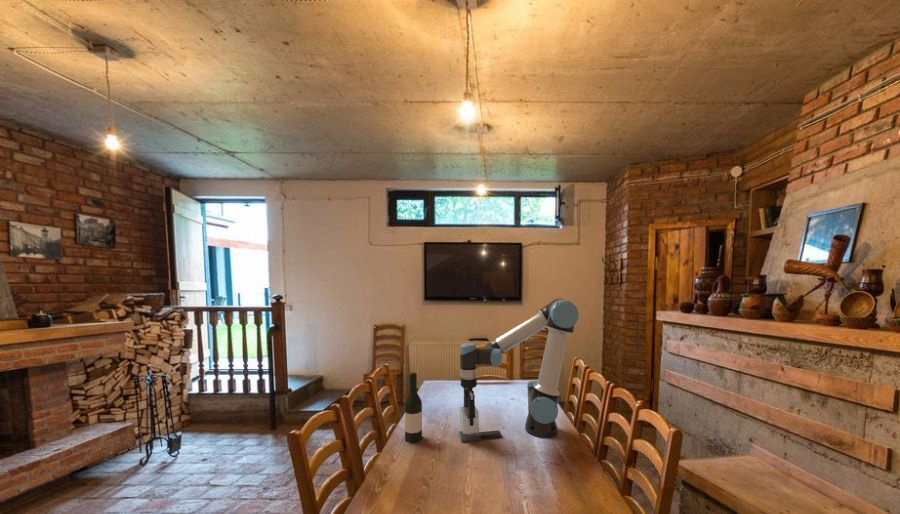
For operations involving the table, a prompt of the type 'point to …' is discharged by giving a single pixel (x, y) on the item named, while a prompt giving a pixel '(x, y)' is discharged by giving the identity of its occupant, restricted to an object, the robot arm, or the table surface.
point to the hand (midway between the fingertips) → (469, 428)
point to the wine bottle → (413, 412)
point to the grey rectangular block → (465, 420)
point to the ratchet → (478, 436)
